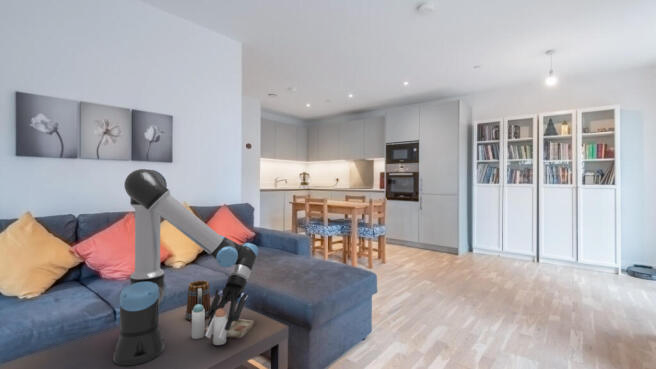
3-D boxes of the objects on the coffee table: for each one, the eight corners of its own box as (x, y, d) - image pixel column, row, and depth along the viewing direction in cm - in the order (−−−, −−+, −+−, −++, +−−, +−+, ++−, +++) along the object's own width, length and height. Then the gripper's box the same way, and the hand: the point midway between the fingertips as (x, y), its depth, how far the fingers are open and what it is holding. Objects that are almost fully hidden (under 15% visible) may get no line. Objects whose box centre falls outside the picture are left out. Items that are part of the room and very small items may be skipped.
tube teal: (189, 338, 121) (189, 306, 121) (196, 332, 125) (196, 301, 125) (199, 339, 120) (200, 307, 120) (206, 333, 124) (207, 302, 124)
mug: (185, 313, 142) (185, 281, 142) (210, 310, 147) (210, 278, 146) (185, 329, 128) (186, 292, 128) (213, 324, 132) (213, 289, 132)
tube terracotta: (210, 344, 114) (211, 310, 114) (217, 337, 119) (218, 305, 119) (221, 345, 113) (222, 311, 113) (228, 339, 118) (229, 306, 118)
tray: (203, 333, 124) (203, 329, 124) (220, 320, 136) (220, 316, 136) (240, 338, 121) (240, 334, 121) (254, 324, 132) (254, 320, 132)
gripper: (260, 285, 129) (239, 345, 113) (222, 280, 133) (196, 338, 117) (255, 276, 124) (232, 337, 108) (215, 271, 127) (187, 330, 112)
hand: (214, 337), depth 112 cm, fingers closed on tube terracotta, 5 cm apart
